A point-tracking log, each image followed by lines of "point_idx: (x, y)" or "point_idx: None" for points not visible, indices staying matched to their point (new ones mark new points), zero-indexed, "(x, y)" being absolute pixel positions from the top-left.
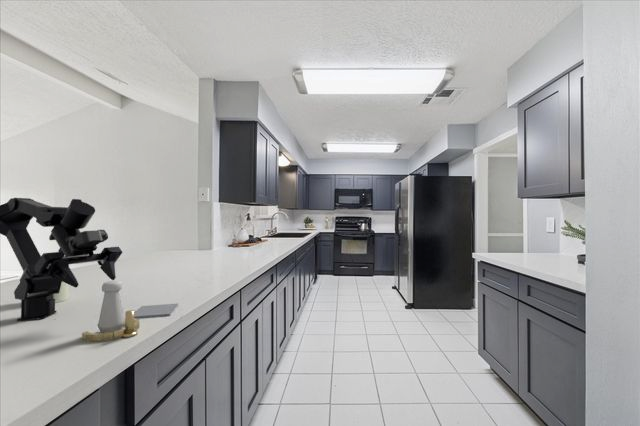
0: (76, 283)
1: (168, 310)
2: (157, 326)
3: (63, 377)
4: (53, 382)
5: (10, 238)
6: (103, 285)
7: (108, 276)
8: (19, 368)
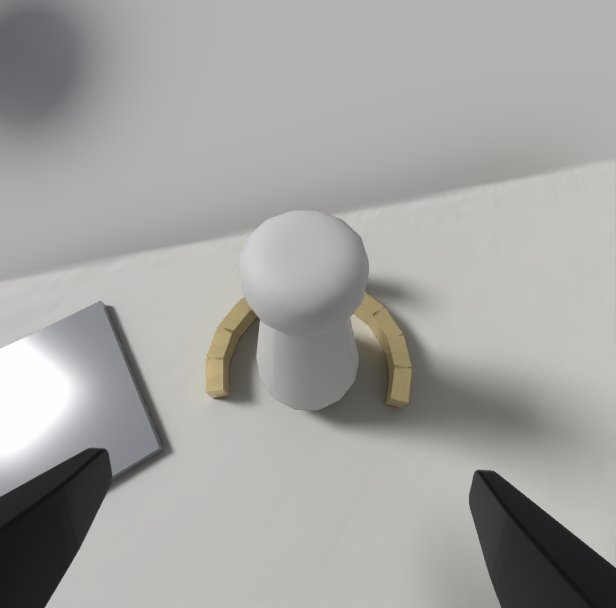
0: (501, 477)
1: (52, 340)
2: (222, 261)
3: (542, 211)
4: (562, 210)
5: None
6: (367, 266)
7: (60, 577)
8: (604, 358)
